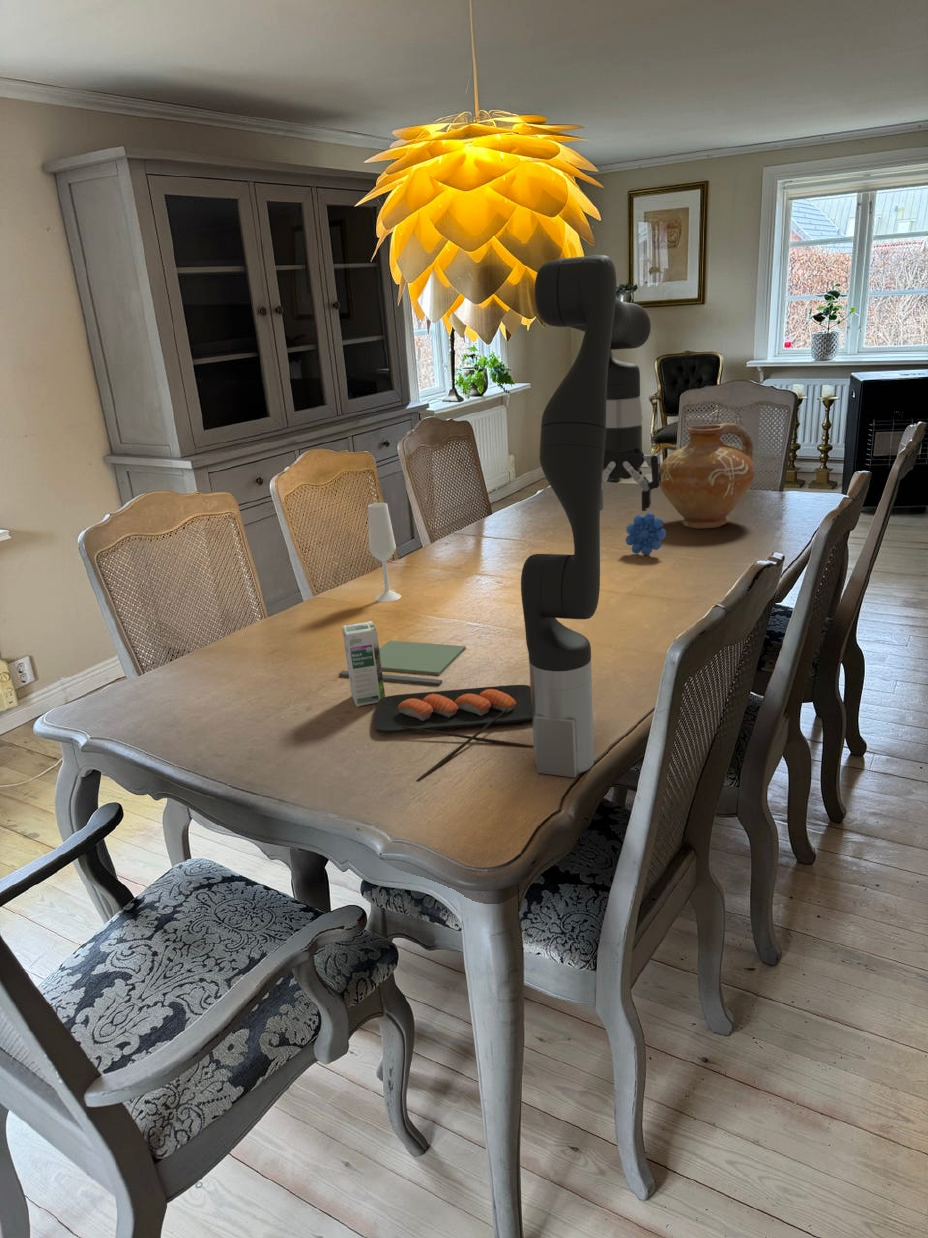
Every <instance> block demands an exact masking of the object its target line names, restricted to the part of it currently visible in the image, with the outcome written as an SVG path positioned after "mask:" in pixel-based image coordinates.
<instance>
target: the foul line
mask: <svg viewBox="0 0 928 1238" xmlns="http://www.w3.org/2000/svg"><path fill="white" fill-rule="evenodd" d="M338 676H339V677H342V678H349V673H348V670H341V671H340V672H339V673H338ZM382 676H383V682H395V683H405V684H417V685H426V686H438V687H439V686H441V685H442V684H443V680H442V679H438V678H437V679H435V678H425V677H424V678H423V677H415V676H414V677H413V676H404V675H393V674H392V675H391V674H383V673H382Z"/></svg>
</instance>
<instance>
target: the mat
mask: <svg viewBox="0 0 928 1238" xmlns="http://www.w3.org/2000/svg"><path fill="white" fill-rule="evenodd" d="M466 649H467V647H466V646H465V645H457V644H454V645H453V644H452V645H451V644H442V643H441V644H440V643H429V642H428V643H427V642H415V641H413V642H412V641H402V640H388V641H387V642H386V643H384V644H383V645H382V646H380V647H379V652H380V660H381V668H382V671H388V672H389V671H391V672H401V673H410V674H411V673H412V674H422V675H434V676H441V675H442V673H444V671H445V670H446V669H447V668H448V667H449V666H450V665H452V664H453V663H454V662H455V660H456V659H457V658H459V657H460V655H461V654H462V653H463V652H465V650H466Z"/></svg>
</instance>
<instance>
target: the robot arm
mask: <svg viewBox="0 0 928 1238" xmlns="http://www.w3.org/2000/svg"><path fill="white" fill-rule="evenodd" d="M616 273H617V272H616V267H615V264H614V262H613V260H612V258H610V257H609V256H608V255H603V254H595V255H584V256H576V257H575V256H574V257H566V258H558V259H554V260H550V261H546V262H544V264H542V265H541V267H540V268H539V269H538V270H537V273H536V276H535V279H534V280H535V282H534V303H535V307H536V311H537V314H538V315H539V318H540V319H541V320H542V321H543V323H544V324H546V325H548V326H551V327H558V328H567V327H569V328H572V329H576V330H578V331H582V332H583V333H584V335H583V339H582V343H581V346H580V349H579V351H578V353H577V356H576V358H575V360H574V362H573V364H572V366H571V367H570V369H569V370H568V372H567V374H566V375H565V377H564V378H563V379H562V381H561V382H560V383H559V386H558V387H557V388H556V390H555V391H554V393H553V395H552V396H551V397H550V399H549V401H548V402H547V404H546V406H545V408H544V410H543V414H542V417H541V423H540V441H539V462H540V467H541V470H542V472H543V474H544V476H545V478H546V480H547V482H548V484H549V486H550V487H551V489H552V491H553V492H554V494H555V496H556V497H557V500H558V501H559V503H560V505H561V506H562V508H563V510H564V512H565V515H566V517H567V519H568V522H569V524H570V527H571V532H572V538H573V548H574V550H573V551H574V553H573V554H563V553H562V554H561V553H557V554H555V553H534V554H531V555H529V556H528V557H527V558H526V560H525V561H524V563H523V566H522V569H521V574H520V575H521V576H520V595H521V604H522V610H523V611H522V612H523V619H524V629H525V630H524V631H525V632H524V633H525V641H526V642H525V643H526V648H527V653H528V663H529V681H530V682H529V683H530V684H529V686H530V687H531V705H532V720H531V723H532V735H533V736H532V739H533V746H534V748H533V752H534V757H533V758H534V764H535V766H536V773H538V774H545V775H553V776H561V777H566V778H567V777H568V778H573V779H575V778H577V777H578V775H579V774H581V773H584V772H587V771H588V770H590V769H591V767H593V765H594V764H595V741H594V739H595V737H594V716H593V715H594V713H593V711H594V710H593V682H592V681H593V680H592V679H593V678H592V675H593V674H592V671H593V670H592V647H591V642H590V641H589V639H588V637H586V636H585V635H584V634H582V633H580V632H577V631H576V630H573V629H571V628H569V627H567V626H565V625H564V624H562V623H561V622H560V621H559V620H558V619H567V620H589V619H591V618H592V617H593V616H595V613H596V611H597V608H598V605H599V599H600V590H601V588H600V587H601V542H600V541H601V538H600V537H601V535H600V533H601V529H600V528H601V527H600V526H601V524H600V522H601V521H600V520H601V519H600V518H601V511H603V509H604V508H603V507H604V493H603V492H604V490H603V489H602V487H603V486H604V484H605V483H606V481H607V480H608V479H609V477H610V478H611V479H612V480H618V479H622V480H623V479H624V480H629V479H631V478H632V479H633V480H634V481H635V483H637V484H638V485H639V487H640V488H641V489H642V491H641V511H642V512H647V510H648V509H649V508H650V507H651V505H652V490H654V489H658V488H659V487H660V484H661V468H660V465H661V457H660V454H659V453H657V452H656V453H654V454H647V455H645V454H644V453H643V415H642V414H643V412H642V411H643V410H642V401H641V371H640V367H639V365H637V364H636V363H632V362H627V361H626V362H625V361H621V360H619V359H617V358H616V357H615V355H614V354H613V352H612V350H613V351H614V350H615V351H616V350H626V349H630V350H631V349H638V348H640V347H641V346H643V345H644V344H646V342H647V341H648V339H649V337H650V334H651V319H650V316H649V314H648V312H647V310H645V308H644V307H642V306H641V305H639V304H636V303H632V302H625V301H621V300H620V299H619V298H618V297H617V274H616ZM644 463H646V464H647V466H648V467H649V468H650V469H651V481H650V480H649V479H648V478H647V476H646V474H645V473H644V471H643V470H642V469H641V467H642V465H644Z"/></svg>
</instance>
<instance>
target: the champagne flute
mask: <svg viewBox="0 0 928 1238" xmlns="http://www.w3.org/2000/svg"><path fill="white" fill-rule="evenodd" d="M367 513H368V514H367V515H368V516H367V517H368V521H367V522H368V551H369V553H370V555H372V556H373V557H374V558H376V559H377V560H378V561H380V562H381V565H382V566H381V567H382V575H383V585H384V590H383V592H382V593H380V594H379V595H377V596H376V597H375V598H374V599H375V601H376V602H380V603H381V602H383V603H385V602H387V603H388V602H394V601H397V600H399V599H401V598H402V595H401V594H399V593H398V592H394V591H393V590H390V582H389V581H390V579H389V573H388V572H389V571H388V564H387V563H388V562H387V561H388V560H390V558H392V556H393V554H394V553H395V551H396V550H397V549H396V548H397V545H396V541H395V536H394V531H393V526H392V521H391V515H390V511H389V507H388V502H387V503H385V502H375V503H371V504H368V505H367Z"/></svg>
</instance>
